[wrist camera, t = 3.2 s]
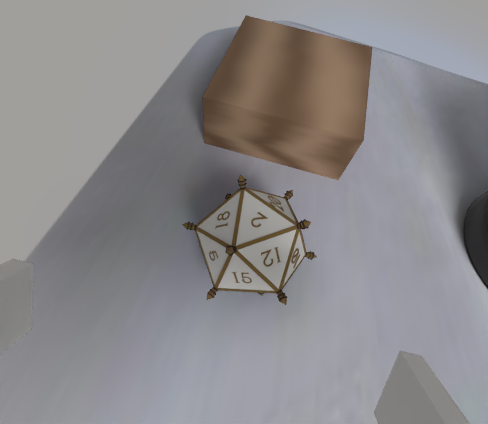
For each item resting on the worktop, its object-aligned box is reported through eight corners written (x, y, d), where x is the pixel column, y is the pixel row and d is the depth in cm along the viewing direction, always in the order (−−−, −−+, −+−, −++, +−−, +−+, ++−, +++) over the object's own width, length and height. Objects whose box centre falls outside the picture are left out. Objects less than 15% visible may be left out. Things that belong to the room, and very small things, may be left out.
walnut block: (349, 94, 36) (372, 47, 31) (336, 182, 29) (363, 140, 24) (241, 66, 37) (246, 15, 32) (204, 145, 30) (202, 96, 25)
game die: (227, 259, 28) (204, 158, 24) (319, 261, 25) (313, 148, 21) (189, 337, 20) (144, 208, 16) (315, 351, 18) (303, 202, 13)
